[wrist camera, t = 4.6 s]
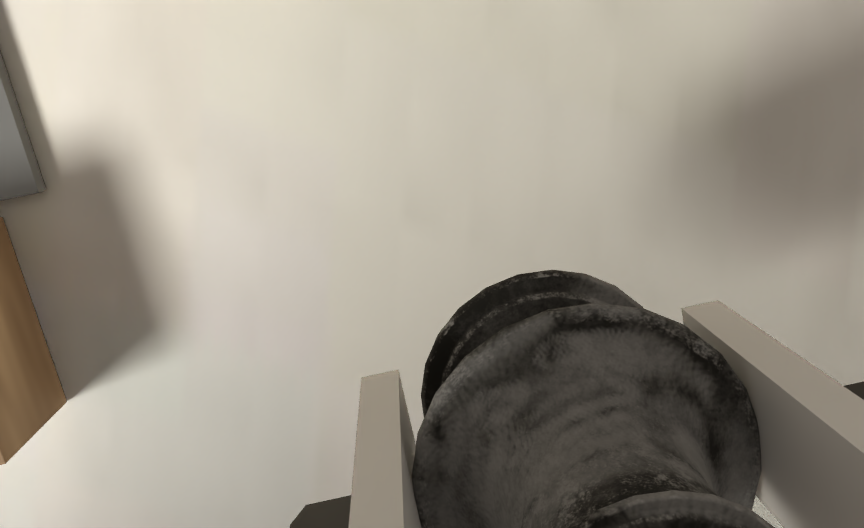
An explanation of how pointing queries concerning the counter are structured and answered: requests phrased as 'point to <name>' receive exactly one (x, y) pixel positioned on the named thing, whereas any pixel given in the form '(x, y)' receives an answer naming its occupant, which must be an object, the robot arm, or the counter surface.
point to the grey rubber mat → (15, 147)
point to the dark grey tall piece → (580, 416)
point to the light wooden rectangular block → (22, 360)
